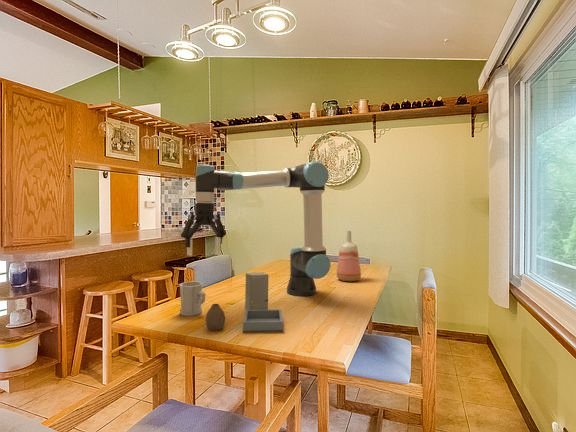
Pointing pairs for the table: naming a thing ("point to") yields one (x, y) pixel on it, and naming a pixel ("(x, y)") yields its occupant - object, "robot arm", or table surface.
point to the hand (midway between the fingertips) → (204, 253)
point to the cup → (191, 298)
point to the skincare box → (256, 291)
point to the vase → (215, 318)
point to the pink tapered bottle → (348, 261)
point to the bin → (263, 321)
